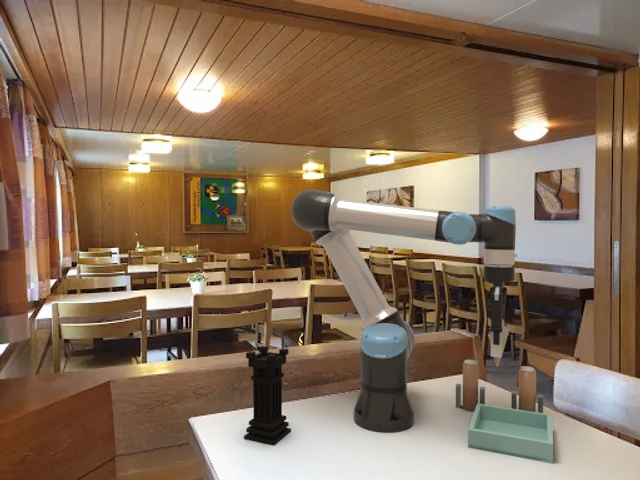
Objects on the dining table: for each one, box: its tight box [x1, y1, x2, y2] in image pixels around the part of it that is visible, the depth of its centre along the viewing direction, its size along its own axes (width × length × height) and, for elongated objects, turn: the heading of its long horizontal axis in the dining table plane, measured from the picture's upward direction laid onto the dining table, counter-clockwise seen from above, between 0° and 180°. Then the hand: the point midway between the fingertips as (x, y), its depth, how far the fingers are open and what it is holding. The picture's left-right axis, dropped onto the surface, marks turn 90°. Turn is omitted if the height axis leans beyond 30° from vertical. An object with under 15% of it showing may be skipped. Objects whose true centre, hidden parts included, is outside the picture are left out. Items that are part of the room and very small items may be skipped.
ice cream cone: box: [487, 319, 509, 368], centre depth 124 cm, size 5×5×15 cm
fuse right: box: [518, 365, 537, 412], centre depth 121 cm, size 4×4×13 cm
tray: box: [467, 402, 554, 464], centre depth 109 cm, size 17×17×4 cm
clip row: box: [455, 382, 544, 413], centre depth 124 cm, size 21×2×6 cm, turn 65°
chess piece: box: [243, 345, 292, 447], centre depth 111 cm, size 8×8×20 cm
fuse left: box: [462, 359, 479, 412], centre depth 127 cm, size 4×4×13 cm
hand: (497, 353), depth 124 cm, fingers closed on ice cream cone, 5 cm apart
